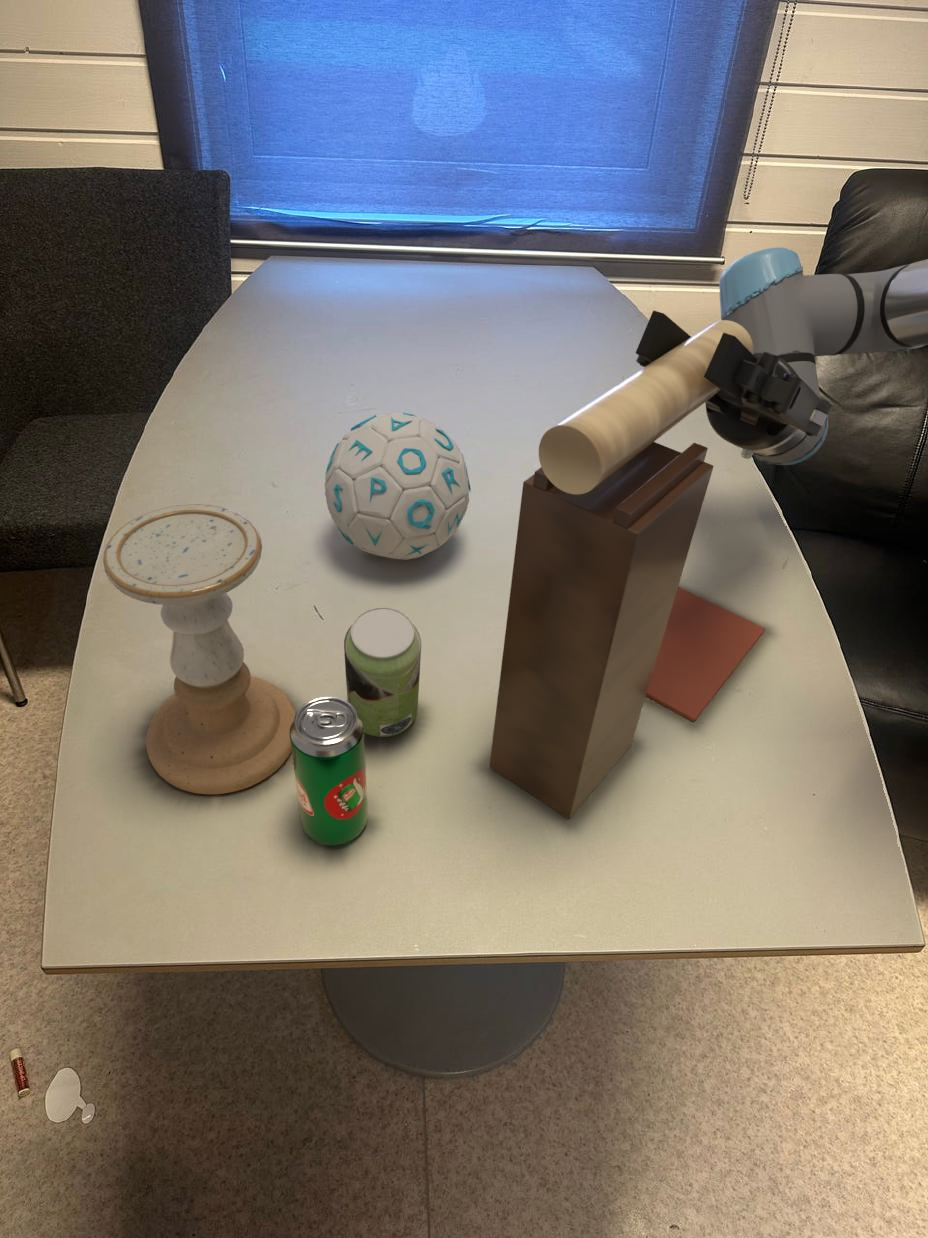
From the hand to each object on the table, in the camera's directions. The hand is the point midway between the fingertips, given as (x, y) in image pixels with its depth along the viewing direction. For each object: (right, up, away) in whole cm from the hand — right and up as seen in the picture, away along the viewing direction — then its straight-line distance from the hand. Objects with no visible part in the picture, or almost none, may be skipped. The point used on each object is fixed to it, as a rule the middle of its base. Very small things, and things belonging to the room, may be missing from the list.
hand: (684, 344), depth 50 cm
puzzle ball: (-21, -9, +41) cm, 46 cm away
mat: (+7, -19, +31) cm, 37 cm away
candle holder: (-34, -27, +20) cm, 47 cm away
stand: (-5, -28, +20) cm, 35 cm away
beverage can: (-20, -26, +22) cm, 39 cm away
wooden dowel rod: (-2, -5, +2) cm, 5 cm away
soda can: (-23, -33, +14) cm, 43 cm away
